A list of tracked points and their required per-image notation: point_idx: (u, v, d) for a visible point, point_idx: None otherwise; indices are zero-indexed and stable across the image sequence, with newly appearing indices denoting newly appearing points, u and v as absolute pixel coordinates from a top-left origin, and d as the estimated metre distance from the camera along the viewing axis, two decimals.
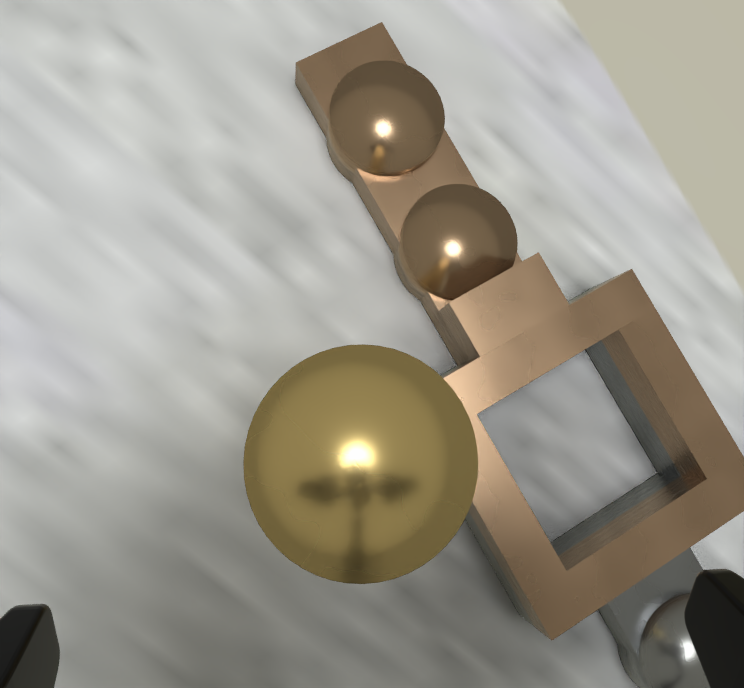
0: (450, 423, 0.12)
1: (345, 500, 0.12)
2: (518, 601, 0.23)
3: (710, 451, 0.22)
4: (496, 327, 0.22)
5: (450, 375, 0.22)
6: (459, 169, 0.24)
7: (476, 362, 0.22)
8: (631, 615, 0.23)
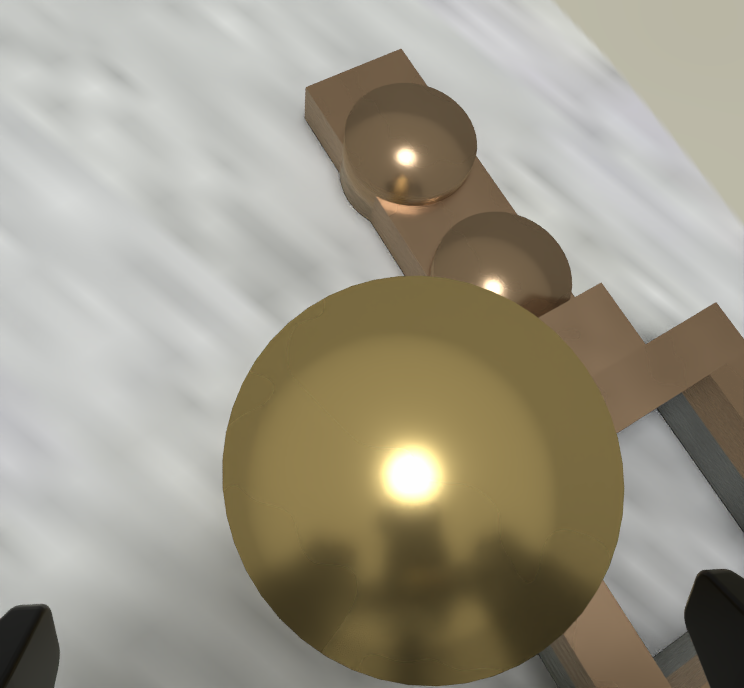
0: (570, 400, 0.07)
1: (401, 529, 0.07)
2: None
3: None
4: None
5: None
6: (496, 199, 0.21)
7: None
8: None
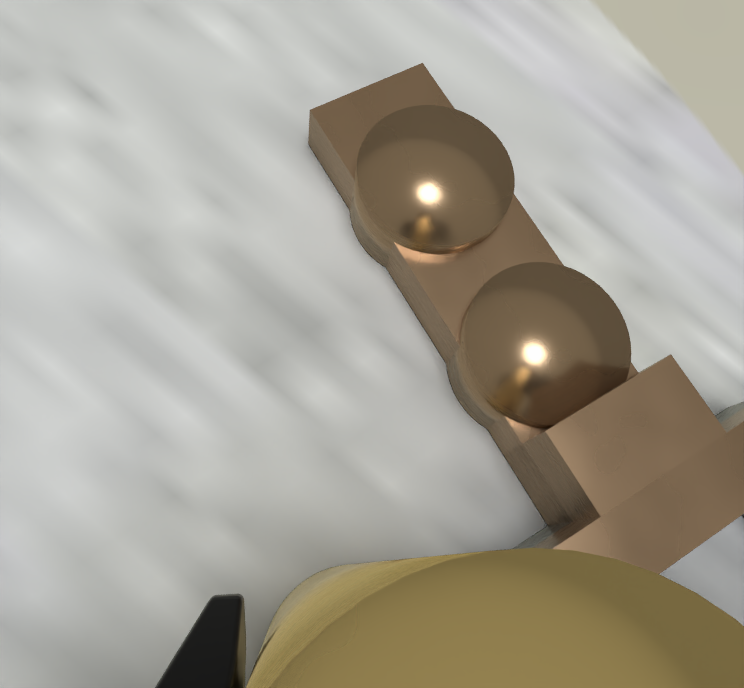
0: None
1: None
2: None
3: None
4: (621, 469, 0.14)
5: (556, 548, 0.14)
6: (536, 244, 0.17)
7: (595, 525, 0.14)
8: None
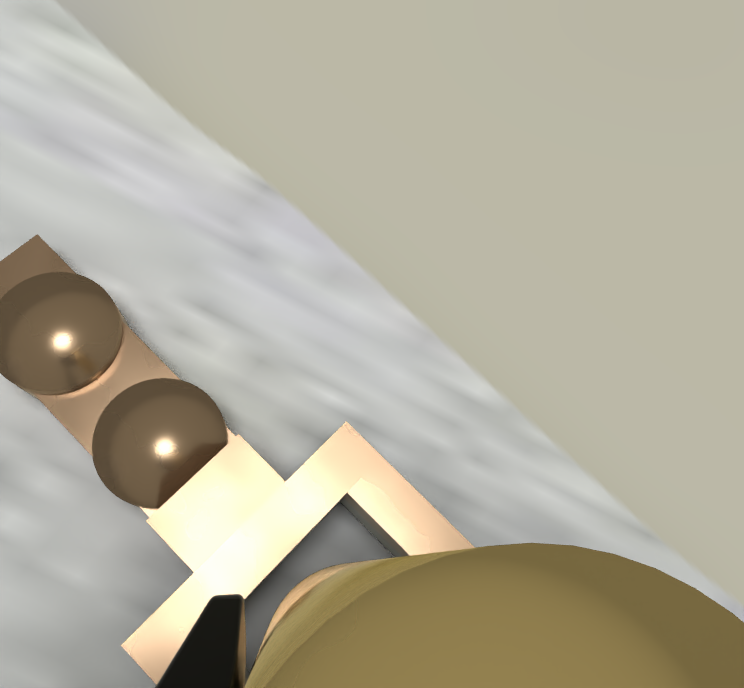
0: None
1: None
2: None
3: None
4: (206, 532, 0.19)
5: (162, 605, 0.19)
6: (150, 362, 0.22)
7: (190, 580, 0.19)
8: None
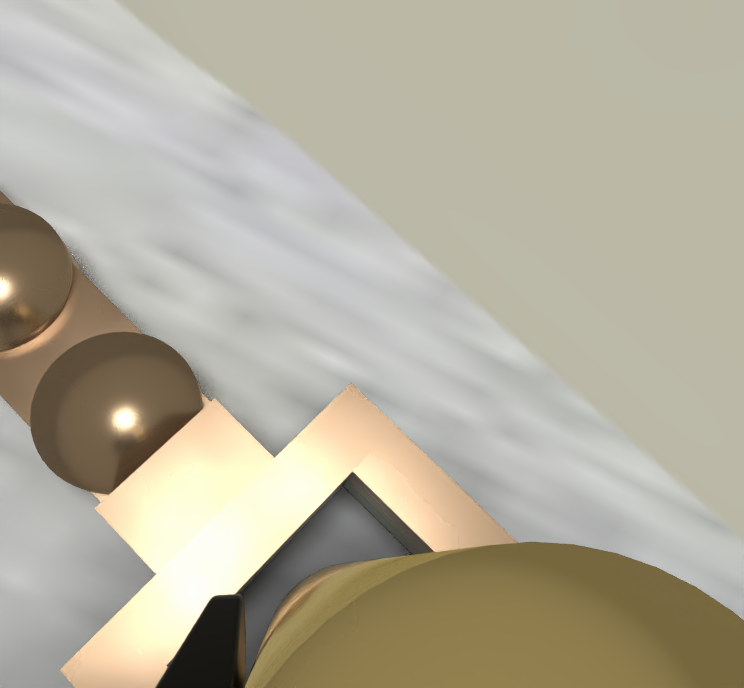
0: None
1: None
2: None
3: None
4: (173, 523, 0.15)
5: (115, 617, 0.14)
6: (107, 313, 0.18)
7: (151, 584, 0.15)
8: None
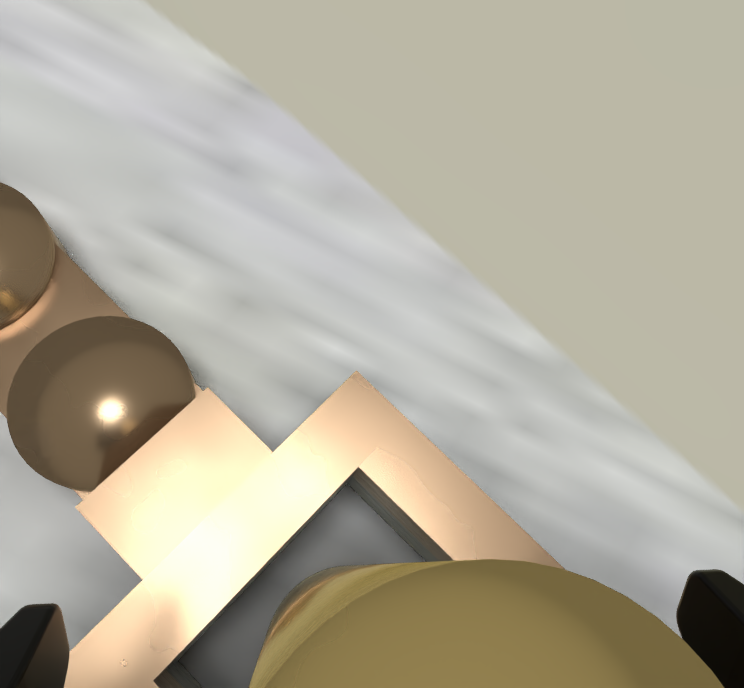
0: None
1: None
2: None
3: None
4: (161, 523, 0.14)
5: (97, 627, 0.13)
6: (91, 297, 0.17)
7: (137, 591, 0.13)
8: None
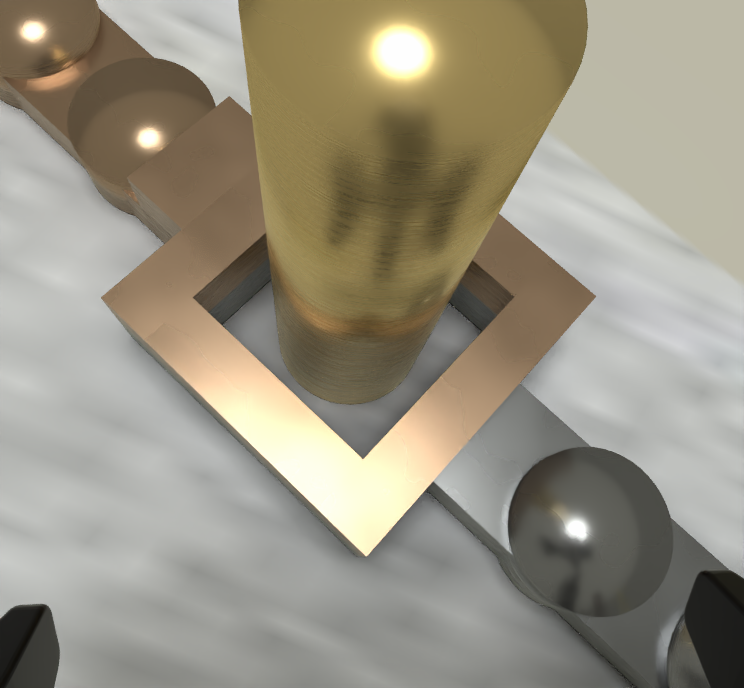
0: None
1: (391, 45, 0.08)
2: (334, 531, 0.17)
3: (509, 263, 0.17)
4: (195, 190, 0.17)
5: (147, 260, 0.17)
6: (131, 50, 0.20)
7: (178, 236, 0.17)
8: (486, 504, 0.17)
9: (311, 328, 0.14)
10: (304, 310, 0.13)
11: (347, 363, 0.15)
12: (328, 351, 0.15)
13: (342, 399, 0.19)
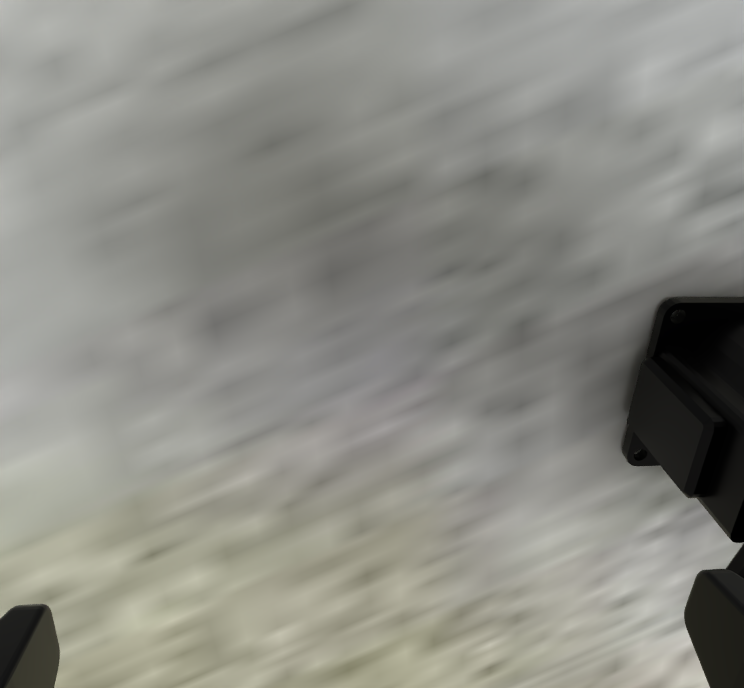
0: None
1: None
2: None
3: None
4: None
5: None
6: None
7: None
8: None
9: None
10: None
11: None
12: None
13: None
